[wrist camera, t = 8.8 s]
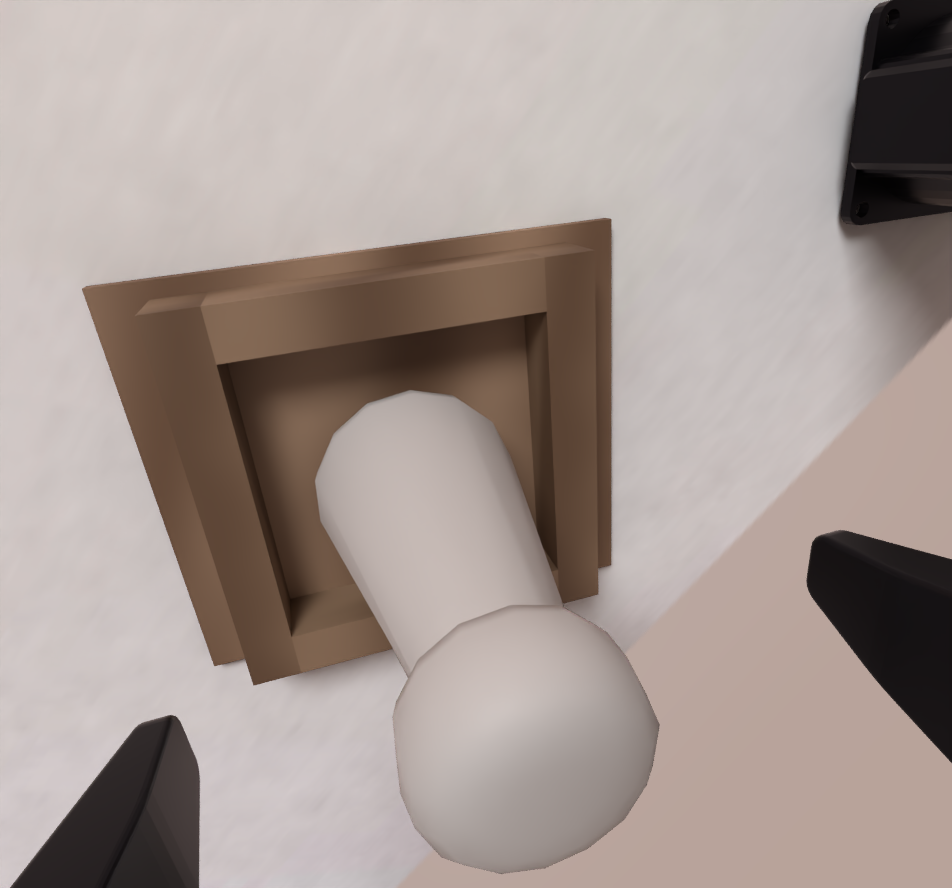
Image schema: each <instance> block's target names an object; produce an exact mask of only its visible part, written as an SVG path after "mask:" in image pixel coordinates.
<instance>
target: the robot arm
mask: <svg viewBox="0 0 952 888" xmlns="http://www.w3.org/2000/svg"><path fill="white" fill-rule="evenodd" d="M887 14H888V15H889V22H888V25H886V17H887ZM858 205H859V211H858V213H857V214H856V209H857V207H858ZM945 212H952V0H890V1H886V2H883V3H880V4H878V5H877V6H876V7H875V8H874V10H873V11H872V13H871V15H870V19H869V22H868V29H867V36H866V43H865V50H864V57H863V63H862V70H861V77H860V84H859V91H858V98H857V105H856V111H855V118H854V125H853V132H852V139H851V146H850V153H849V160H848V166H847V173H846V180H845V187H844V194H843V201H842V208H841V217H842V220H843V221H844V222H845V223H846V224H854V225H864V224H871V223H878V222H884V221H891V220H898V219H905V218H912V217H918V216H925V215H932V214H939V213H945ZM807 587H808V590H809V593H810V595H811V596H812V598H813V599H814V601H815V602H816V603H817V605H818V606H819V607H820V609H821V610H822V611H823V612H824V614H825V615H826V616H827V618H828V619H829V620H830V622H831V623H832V624H833V625H834V626H835V628H836V629H837V630H838V632H839V633H840V634H841V636H842V637H843V638H844V640H845V641H846V642H847V644H848V645H849V646H850V647H851V649H852V650H853V651H854V653H855V654H856V655H857V656H858V658H859V659H860V660H861V662H862V663H863V664H864V666H865V667H866V668H867V669H868V671H869V672H870V673H871V674H872V676H873V677H874V678H875V679H876V681H877V682H878V683H879V684H880V685H881V686H882V688H883V689H884V690H885V691H886V692H887V693H888V694H889V695H890V697H891V698H892V699H893V700H894V701H895V702H896V703H897V704H898V705H899V706H900V707H901V709H902V710H903V711H904V712H905V713H906V714H907V715H908V716H909V717H910V718H911V719H912V720H913V722H914V723H915V724H916V725H917V726H918V727H919V728H920V729H921V730H922V731H923V732H924V734H926V736H927V737H928V738H929V739H930V740H931V741H932V742H933V743H934V744H935V745H936V746H937V748H938V749H939V750H940V751H941V752H942V753H943V754H944V755H945V756H946V757H947V758H948V759H949V761H950V762H951V763H952V559H948V558H945V557H941V556H937V555H934V554H930V553H926V552H922V551H918V550H915V549H912V548H907V547H904V546H900V545H897V544H893V543H889V542H886V541H882V540H878V539H874V538H871V537H867V536H864V535H860V534H856V533H853V532H849V531H844V530H838V531H834V532H830V533H826V534H823V535H820V536H818V537H816V538H815V540H814V541H813V542H812V546H811V553H810V560H809V566H808V573H807ZM199 816H200V776H199V768H198V763H197V760H196V757H195V755H194V753H193V750H192V748H191V746H190V743H189V741H188V738H187V736H186V734H185V731H184V729H183V727H182V724H181V722H180V721H179V719H178V718H177V717H176V716H172V715H168V716H165V717H161V718H158V719H154V720H150V721H147V722H143V723H141V724H139V725H138V726H137V727H136V728H135V729H134V730H133V731H132V732H131V734H130V735H129V736H128V738H127V739H126V740H125V741H124V743H123V744H122V745H121V747H120V748H119V749H118V750H117V752H116V753H115V754H114V755H113V757H112V758H111V759H110V761H109V762H108V763H107V764H106V766H105V767H104V768H103V770H102V771H101V772H100V773H99V775H98V776H97V777H96V778H95V780H94V781H93V782H92V784H91V785H90V786H89V787H88V789H87V790H86V791H85V793H84V794H83V795H82V796H81V798H80V799H79V800H78V802H77V803H76V804H75V805H74V807H73V808H72V809H71V810H70V812H69V813H68V814H67V816H66V817H65V818H64V819H63V821H62V822H61V823H60V825H59V826H58V827H57V828H56V830H55V831H54V832H53V833H52V835H51V836H50V837H49V839H48V840H47V841H46V842H45V844H44V845H43V846H42V848H41V849H40V850H39V851H38V853H37V854H36V855H35V856H34V858H33V859H32V860H31V862H30V863H29V864H28V865H27V867H26V868H25V869H24V871H23V872H22V873H21V874H20V876H19V877H18V878H17V879H16V881H15V882H14V883H13V885H12V886H11V887H10V888H199Z"/></svg>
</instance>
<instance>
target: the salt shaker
mask: <svg viewBox="0 0 952 888" xmlns="http://www.w3.org/2000/svg"><path fill="white" fill-rule="evenodd" d="M315 485H316V492H317V499H318V507H319V514H320V521H321V523H322V525H323V526H324V528H325V530H326V532H327V533H328V535H329V537H330V539H331V540H332V542H333V544H334V546H335V547H336V549H337V551H338V553H339V554H340V556H341V558H342V560H343V561H344V563H345V565H346V567H347V569H348V570H349V572H350V574H351V576H352V577H353V579H354V581H355V583H356V584H357V586H358V588H359V590H360V591H361V593H362V595H363V597H364V598H365V600H366V602H367V604H368V605H369V607H370V609H371V611H372V612H373V614H374V616H375V618H376V619H377V621H378V623H379V625H380V626H381V628H382V630H383V632H384V633H385V635H386V637H387V639H388V640H389V642H390V644H391V646H392V648H393V650H394V652H395V654H396V656H397V658H398V660H399V661H400V663H401V665H402V667H403V669H404V671H405V673H406V675H407V677H408V680H407V682H406V684H405V686H404V687H403V689H402V691H401V693H400V695H399V697H398V699H397V701H396V705H395V709H394V714H393V727H394V738H395V749H396V760H397V768H398V777H399V785H400V793H401V796H402V798H403V801H404V803H405V806H406V808H407V810H408V813H409V815H410V818H411V820H412V823H413V825H414V827H415V829H416V830H417V831H418V832H419V833H420V834H421V836H422V837H423V838H424V839H425V840H426V841H427V842H428V843H429V844H430V845H431V846H432V848H433V849H434V850H435V851H436V852H437V853H438V854H439V855H440V856H441V857H442V858H445V859H448V860H451V861H453V862H457V863H459V864H462V865H466V866H470V867H474V868H479V869H483V870H487V871H491V872H495V873H500V874H504V873H510V872H519V871H527V870H534V869H542V868H546V867H549V866H551V865H553V864H555V863H557V862H560V861H562V860H564V859H566V858H568V857H571V856H573V855H575V854H577V853H579V852H581V851H584V850H586V849H588V848H589V847H591V846H592V845H593V844H594V843H596V842H597V841H598V840H599V839H601V838H602V837H603V836H604V835H606V834H607V833H608V832H609V831H611V830H612V829H613V828H614V827H616V826H617V825H618V824H619V823H620V822H622V821H623V820H624V819H625V818H626V816H627V815H628V813H629V811H630V810H631V808H632V807H633V805H634V804H635V802H636V801H637V799H638V798H639V796H640V794H641V793H642V791H643V789H644V788H645V787H646V785H647V782H648V779H649V775H650V772H651V769H652V766H653V761H654V755H655V749H656V743H657V737H658V731H659V722H658V720H657V718H656V716H655V713H654V711H653V709H652V706H651V704H650V702H649V700H648V697H647V695H646V693H645V691H644V689H643V687H642V685H641V683H640V681H639V679H638V677H637V676H636V674H635V672H634V670H633V668H632V666H631V664H630V662H629V660H628V658H627V657H626V655H625V654H624V653H623V652H622V650H621V649H620V648H619V647H618V645H617V644H616V643H615V641H614V640H613V639H612V638H611V636H610V635H609V634H608V633H607V632H606V631H604V630H602V629H601V628H599V627H598V626H596V625H595V624H593V623H591V622H589V621H587V620H586V619H584V618H582V617H580V616H578V615H577V614H575V613H573V612H571V611H569V610H567V609H566V608H564V606H563V603H562V600H561V597H560V594H559V592H558V589H557V586H556V583H555V580H554V578H553V575H552V572H551V569H550V566H549V563H548V561H547V558H546V555H545V552H544V549H543V546H542V544H541V541H540V538H539V535H538V532H537V530H536V527H535V524H534V521H533V518H532V515H531V513H530V510H529V507H528V504H527V501H526V498H525V496H524V493H523V490H522V487H521V484H520V482H519V479H518V476H517V473H516V470H515V467H514V465H513V462H512V459H511V456H510V454H509V453H508V451H507V449H506V447H505V445H504V443H503V441H502V439H501V437H500V435H499V433H498V432H497V430H496V428H495V426H494V424H493V422H491V421H490V420H489V419H487V418H486V417H484V416H483V415H481V414H480V413H478V412H477V411H475V410H474V409H472V408H471V407H469V406H468V405H466V404H465V403H463V402H462V401H460V400H459V399H457V398H456V397H455V396H453V395H446V394H438V393H430V392H422V391H414V390H409V391H406V392H402V393H399V394H396V395H393V396H390V397H386V398H383V399H380V400H377V401H374V402H370V403H367V404H366V405H365V406H363V407H362V408H361V409H360V410H359V411H358V412H357V413H356V414H355V415H354V416H352V417H351V418H350V419H349V420H348V421H347V422H346V423H345V424H344V425H342V426H341V427H340V428H339V429H338V430H337V431H336V432H335V433H334V434H333V436H332V439H331V441H330V443H329V446H328V448H327V450H326V453H325V455H324V458H323V460H322V462H321V465H320V467H319V469H318V472H317V475H316V479H315Z"/></svg>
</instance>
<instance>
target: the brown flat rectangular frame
mask: <svg viewBox="0 0 952 888" xmlns="http://www.w3.org/2000/svg"><path fill="white" fill-rule="evenodd" d="M82 290H83V293H84V296H85V299H86V302H87V305H88V308H89V310H90V313H91V316H92V319H93V322H94V325H95V327H96V330H97V333H98V336H99V339H100V342H101V345H102V347H103V350H104V353H105V356H106V359H107V362H108V365H109V367H110V370H111V373H112V376H113V379H114V382H115V384H116V387H117V390H118V393H119V396H120V399H121V402H122V404H123V407H124V410H125V413H126V416H127V419H128V421H129V424H130V427H131V430H132V433H133V436H134V439H135V441H136V444H137V447H138V450H139V453H140V456H141V459H142V461H143V464H144V467H145V470H146V473H147V476H148V478H149V481H150V484H151V487H152V490H153V493H154V496H155V498H156V501H157V504H158V507H159V510H160V513H161V515H162V518H163V521H164V524H165V527H166V530H167V533H168V535H169V538H170V541H171V544H172V547H173V550H174V553H175V555H176V558H177V561H178V564H179V567H180V570H181V572H182V575H183V578H184V581H185V584H186V587H187V590H188V592H189V595H190V598H191V601H192V604H193V607H194V609H195V612H196V615H197V618H198V621H199V624H200V627H201V629H202V632H203V635H204V638H205V641H206V644H207V646H208V649H209V652H210V655H211V658H212V661H213V664H214V666H217V665H221V664H225V663H229V662H233V661H237V660H241V659H245V660H246V663H247V666H248V669H249V672H250V676H251V679H252V682H253V685H257V684H261V683H265V682H269V681H272V680H276V679H280V678H284V677H288V676H291V675H295V674H299V673H303V672H306V671H310V670H314V669H318V668H321V667H325V666H329V665H333V664H337V663H340V662H344V661H348V660H352V659H355V658H359V657H363V656H367V655H371V654H374V653H378V652H382V651H386V650H389V649H393V648H392V646H391V644H390V642H389V640H388V639H387V637H386V635H385V633H384V632H383V630H382V628H381V626H380V625H379V623H378V621H377V619H376V618H375V616H374V614H373V612H372V611H371V609H370V607H369V605H368V604H367V602H366V600H365V598H364V597H363V595H362V593H361V591H360V590H359V588H358V586H357V584H356V583H355V581H354V579H353V577H352V576H351V574H350V572H349V570H348V569H347V567H346V565H345V563H344V561H343V560H342V558H341V556H340V554H339V553H338V551H337V549H336V547H335V546H334V544H333V542H332V540H331V539H330V537H329V535H328V533H327V532H326V530H325V528H324V526H323V525H322V523H321V521H320V514H319V507H318V499H317V492H316V485H315V479H316V475H317V472H318V469H319V467H320V465H321V462H322V460H323V458H324V455H325V453H326V450H327V448H328V446H329V443H330V441H331V439H332V436H333V434H334V433H335V432H336V431H337V430H338V429H339V428H340V427H341V426H342V425H344V424H345V423H346V422H347V421H348V420H349V419H350V418H351V417H352V416H354V415H355V414H356V413H357V412H358V411H359V410H360V409H361V408H362V407H363V406H365V405H366V404H367V403H370V402H374V401H377V400H380V399H383V398H386V397H390V396H393V395H396V394H399V393H402V392H406V391H409V390H414V391H422V392H430V393H438V394H446V395H453V396H455V397H456V398H457V399H459V400H460V401H462V402H463V403H465V404H466V405H468V406H469V407H471V408H472V409H474V410H475V411H477V412H478V413H480V414H481V415H483V416H484V417H486V418H487V419H489V420H490V421H491V422H493V424H494V426H495V428H496V430H497V432H498V433H499V435H500V437H501V439H502V441H503V443H504V445H505V447H506V449H507V451H508V453H509V454H510V456H511V459H512V462H513V465H514V467H515V470H516V473H517V476H518V479H519V482H520V484H521V487H522V490H523V493H524V496H525V498H526V501H527V504H528V507H529V510H530V513H531V515H532V518H533V521H534V524H535V527H536V530H537V532H538V535H539V538H540V541H541V544H542V546H543V549H544V552H545V555H546V558H547V561H548V563H549V566H550V569H551V572H552V575H553V578H554V580H555V583H556V586H557V589H558V592H559V594H560V597H561V600H562V603H567V602H571V601H575V600H578V599H582V598H586V597H590V596H593V595H597V594H598V568H601V567H605V566H608V565H611V219H608V218H602V219H594V220H586V221H579V222H571V223H564V224H556V225H549V226H541V227H533V228H526V229H518V230H511V231H503V232H495V233H488V234H480V235H473V236H465V237H457V238H450V239H442V240H435V241H427V242H419V243H412V244H404V245H397V246H389V247H381V248H374V249H366V250H359V251H351V252H344V253H336V254H328V255H321V256H313V257H306V258H298V259H290V260H283V261H275V262H268V263H260V264H252V265H245V266H237V267H230V268H222V269H214V270H207V271H199V272H192V273H184V274H177V275H169V276H161V277H154V278H146V279H139V280H131V281H123V282H116V283H108V284H101V285H93V286H86V287H84V288H83V289H82Z"/></svg>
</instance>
